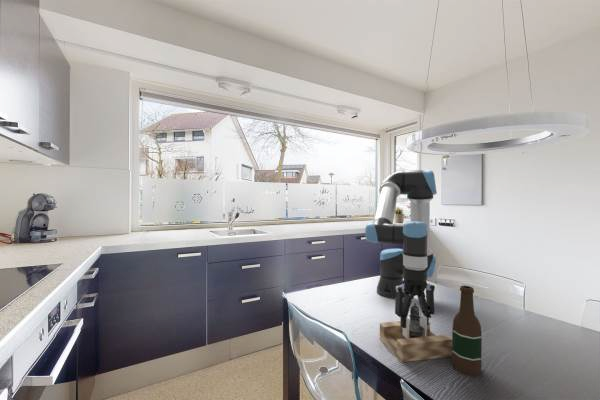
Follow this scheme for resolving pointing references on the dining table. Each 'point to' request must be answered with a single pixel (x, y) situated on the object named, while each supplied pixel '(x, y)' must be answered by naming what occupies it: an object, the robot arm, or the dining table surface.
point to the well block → (414, 343)
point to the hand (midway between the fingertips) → (414, 335)
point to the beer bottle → (467, 336)
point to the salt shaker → (415, 323)
